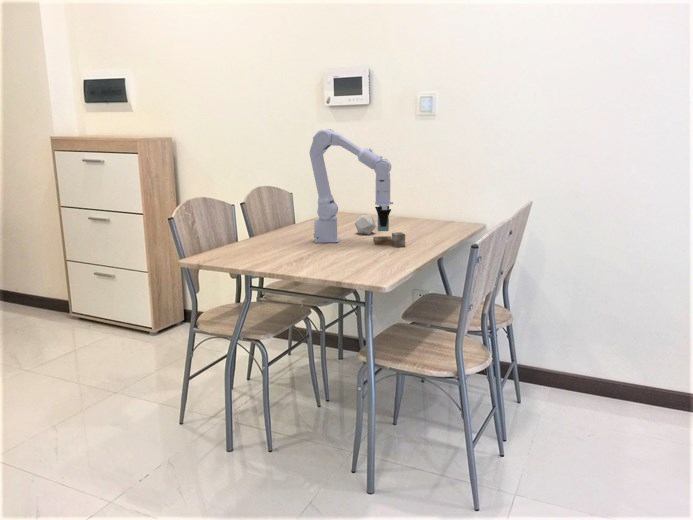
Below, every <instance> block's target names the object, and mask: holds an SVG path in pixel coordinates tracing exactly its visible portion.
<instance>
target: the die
mask: <svg viewBox="0 0 693 520" xmlns="http://www.w3.org/2000/svg"><path fill="white" fill-rule="evenodd" d="M354 226H355V228H356V230H357V233H358V234H359V235H369V236H370V235H371V234H372V232H373V231H374V230H375V229H376V228H377V224H376V222H375V219H374V217H373V215H367V214H365V215H364V214H361V215H360V216H359V217H358V218H357V219H356V220H355V222H354Z"/></svg>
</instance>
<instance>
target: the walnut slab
mask: <svg viewBox="0 0 693 520" xmlns="http://www.w3.org/2000/svg"><path fill="white" fill-rule="evenodd" d="M372 241H373V245H374V246H392V235H391V236H390V235H389V236H388V235H386V236H382V235H381V236H373V237H372Z"/></svg>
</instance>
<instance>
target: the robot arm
mask: <svg viewBox="0 0 693 520" xmlns="http://www.w3.org/2000/svg"><path fill="white" fill-rule="evenodd" d="M331 146H332V147H333V146H336V147H341V148H343V149H344V150H347V151H348V152H350V153H352V154H353V155H355V156H357V159H358V161H359V162H360V163H361V164H364V166H366V167H368V168H369V169H371V170H373V171H374V173H375V203H374V205H376V206H375V207H374V208H375V211H376V213H377V218H378V217H379V220H380V225H381V227H386V225H387V220H388V218H389V215H390V214H391V212H392V208H390V205H394V201H391V170H392V163H391V162H390V161H389V160H388V159H387V158H383V156H382V155H378V154H376V153H375V152H373V149H372V148H367V147H365V148H361V147H360V146H358V145H357V144H356V143H354V142H352V141H351V140H350V139H348V138H347V137H345V136H344V135H343V134H341V133H339V132H337V131H334V130H333V129H331V128H328V129H327V128H326V129H320V130H318V131H317V132H316V133H315V134H314V136H313V137H312V143H311V146H310V149H309V157H310V162H311V166H312V172H313V177H314V181H315V186H316V191H317V195H318V197H317V198H318V199H317V212H316V213H317V216H318V217H319V218H318V219H314V220H313V221H314V222H313V223H314V225H313V226H314V227H313V230H314V233H313V238H314V243H316V244H317V243H339V237H338V217H337V213H338V211H339V206H338V204H337V203H336V201H335V198H334V196H333V195H332V191H331V186H330V181H329V176H328V172H327V168H326V163H325V158H324V154H325V153H326V152H327V150H328V149H329V148H330V147H331Z"/></svg>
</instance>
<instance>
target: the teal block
mask: <svg viewBox="0 0 693 520" xmlns="http://www.w3.org/2000/svg"><path fill="white" fill-rule="evenodd" d="M389 227H390V219H389V217H388V220H387V225H386V227H381V225H380V220H379V217H378V216H377V232H389V231H390V229H389Z"/></svg>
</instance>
